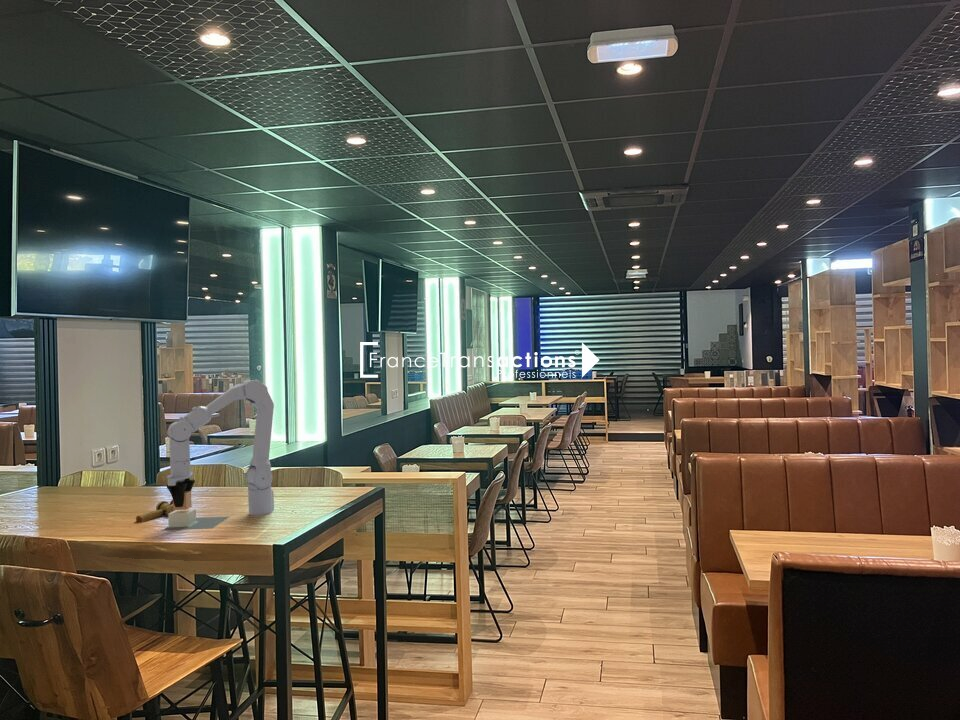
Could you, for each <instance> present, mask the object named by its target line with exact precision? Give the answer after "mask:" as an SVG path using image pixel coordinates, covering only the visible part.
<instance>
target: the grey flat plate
mask: <svg viewBox="0 0 960 720" xmlns="http://www.w3.org/2000/svg"><path fill="white" fill-rule="evenodd" d="M229 518H230V516H211V517H210V516H209V517H208V516H207V517H196V522H195V523H193V524H192V525H190V526H184V527H169V525H168V526H166V527H165V528H162V530H161V531H184V530H185V531H187V530H207V529H208V530H209V529H210V530H211V529H215V527H217V526H218V525H220V524H222V523H223V522H224V521H226V520H227V519H229Z"/></svg>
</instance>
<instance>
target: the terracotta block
mask: <svg viewBox="0 0 960 720" xmlns="http://www.w3.org/2000/svg"><path fill="white" fill-rule="evenodd" d="M192 506H193V505H192V490H191V491H185V493H184V502H183V507H175V505H174V501H173V510H187V509H192Z"/></svg>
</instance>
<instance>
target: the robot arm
mask: <svg viewBox="0 0 960 720" xmlns="http://www.w3.org/2000/svg"><path fill="white" fill-rule="evenodd" d="M240 400H241V401H243V400H246V401H248V402H250V403H251V405H253V407H255V409H256V419H255V428H254V436H253V449H252V451H253V452H252V458H251V460H250V461H249V466H248V468H247V471H246V473H245V480H246V482H247V483H248V486H247V495H248V497H247V498H248V499H247V500H248V515H249V516H263V515H269V514H271V513H273V511H274V510H275V499H274V497H275V496H274V495H275V494H274V490H273V489H272V482H273V478H274V476H273V472H272V470H271V469H272V464H271V460H270V458H269V457H270V449H271V439H272V429H273V419H274V418H273V417H274V407H275V406H274V405H275V403H274V401H273V399H272V397H271V395H270V393H269V391H268V387H267V386H266V385H265V384H264V383H263V382H262V381H260V380H258V379H252V380H251V379H244V380H241V382H240V383H237V384H235V385H233V386H232V387H230V388H228V389H227V390H226V391H224V392H223V393H222V394H221V395H219V396H218V397H216V398H215V399H214V400H213V401H211V402H210V403H208V404H207V405H206V406H203V405H199V406H193V407H192V408H191V411H190V412H189V413H187V414H186V415H184V416H183V417H182V416H180V417H179V418H178V420H179V421H174V422H172V423H170V425H169V426H168V428H167V431H166V435H167V437H169V463H170V464H169V465H170V468H169V469H170V475H167V476H166V479H167V484H166V489H167V490H168V491H169V493H170V495H171V498H172V500H173V501H174V505H175V507H183V502H184V493H185V491H191V492H192V490H193V487H194V485H195V483H196V479H194V471H192V469H191V468H192V467H191V448H190V438H191V436H192V433H196V431H198V430H200V429H201V428H202V427H204V426H205V425H207V424H208V423H209V422H211V421H212V417H213V415H214V414H215V413H217V412H218V411H220V410H222V409H223V408H225V407H227V406H228V405H229V404H231V403H232V402H235V401H240Z"/></svg>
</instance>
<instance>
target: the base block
mask: <svg viewBox="0 0 960 720" xmlns="http://www.w3.org/2000/svg"><path fill="white" fill-rule="evenodd" d="M167 518H168V526H169V527H184V526H190V525H192V524H193V523H195V522H196V518H197V510H196V508H189V509H187V510H175V511H173V512H171V513H169V514H168V516H167Z"/></svg>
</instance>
